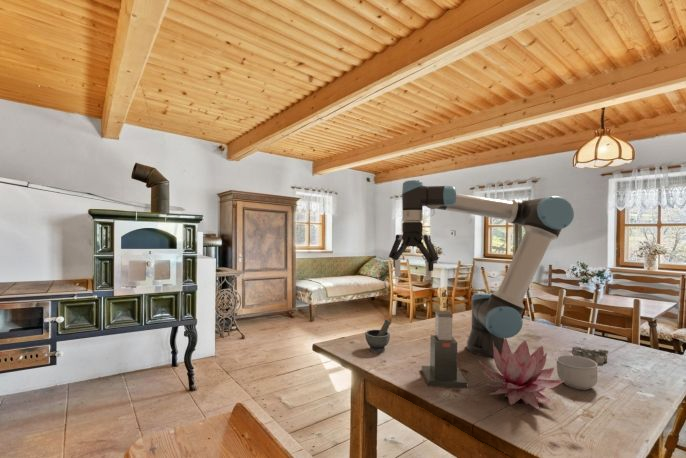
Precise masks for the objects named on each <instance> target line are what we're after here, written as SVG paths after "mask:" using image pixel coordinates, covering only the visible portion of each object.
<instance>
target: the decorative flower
mask: <svg viewBox="0 0 686 458" xmlns="http://www.w3.org/2000/svg"><path fill="white" fill-rule="evenodd" d="M504 339H505V340H504V342H503V347H502V353H501V354H502V356H501V355H500V353H499V352H498V350H497V349H496V347H495V346H494V343H493V349H494V355H493V360H494V363H495V366H496V368H497V370H498V371H499V373H498V372H497V371H495V370H493V369H491V368H490V367H488V366H487V365H485V364H484V362H482V361H481V360H479V363H480V364H481V366H482V367H483V368H484V369H485V370H486V371H488V373H490V374H492V375H493V376H495V377H493V376H492V375H490V374H488V373H486V372H485V371H483V370H481V373H483V374H484V375H485V376H486V377H487V378H489V379H490V380H493V381H494V382H497V383H498V384H492V383H487V385H488V386H491V387H500V388H499V389H498V390H496V391H493V392H490V393H489V395H495V396H496V395H497V396H498V395H503V394H505V395H504V396H503V398H508V403H509V404H510V405H514V404H515V403H516V402H517V403H518V402H519V400H520V399H521V401H523V403H524V404H525V405H527V406H528V404H529V405H530V406H532V407H533V408H535V409H540V407H539V403H538V400H539V401H541V402H546V403H550V404H552V403H554V402H553V401H552V400H550V399H549V398H548V397H547V396H546V395H544V394H543V393H546V391H545V390H548V389H552V388H556V387H557V386H559V385H560V384H562V383H564V380H560V379H558V380H557V379H550V378H551V376H552V374H553V373H554V370H555V369H554V367H551V368H546V369H544V367H545V364H546V362H547V354H548V353H547V352H545V351H544V347H543V346H542V345H541V346H540V347H538V348H537V349H536V350H534V352H532V353H531V354H530V350H529V349H530V348H529V346H528V342H527V340H523V341H522V342H521V343H520V344H519V346H517V348H516V350H515V351H514V353H513V352H512V350H511V348H510V345H509V343H508V338H504ZM544 352H545V353H544ZM496 377H497V378H496ZM499 383H500V384H499Z"/></svg>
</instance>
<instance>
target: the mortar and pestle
mask: <svg viewBox="0 0 686 458" xmlns="http://www.w3.org/2000/svg"><path fill="white" fill-rule="evenodd" d="M391 324H392V321H391V320H389V319H386V318H385V319H384V322H383V324H382V326H381V328H380V329H369V330H366V331H365V334H364V335H365V341H366V343H367V345H368V346H369V351H370V353H373V354H382V353H385V351H386V348H385V347H386V346H388V344H389V342H390V339H391V338H390V337H391V336H390V335H391V334H390V333H389V332H388V330H389V328H390V325H391Z"/></svg>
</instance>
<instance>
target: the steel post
mask: <svg viewBox="0 0 686 458" xmlns="http://www.w3.org/2000/svg"><path fill="white" fill-rule="evenodd" d="M434 314H435V331H434V332H435V333H434V335H435V338H436V339H437V341H452V337H453V313H452V312H451V311H450V310H435V312H434Z"/></svg>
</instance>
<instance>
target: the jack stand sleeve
mask: <svg viewBox="0 0 686 458" xmlns="http://www.w3.org/2000/svg"><path fill="white" fill-rule="evenodd" d="M429 348H430V349H429V350H430V353H429V355H430V358H429V363H430V364H429V365H421V368H420V369H421V372H422V374H423V377H424V380H425V382H426V384H427V386H428V387H445V388H447V387H448V388H468V381H467V380H466V379H465V376H464V375H463V374H462V372H461V371H460V369H459V368H458V342H457V340H456V339H455V338H454V337H453V336H452V341H437V339H436V338H435V334H430V347H429Z"/></svg>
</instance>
